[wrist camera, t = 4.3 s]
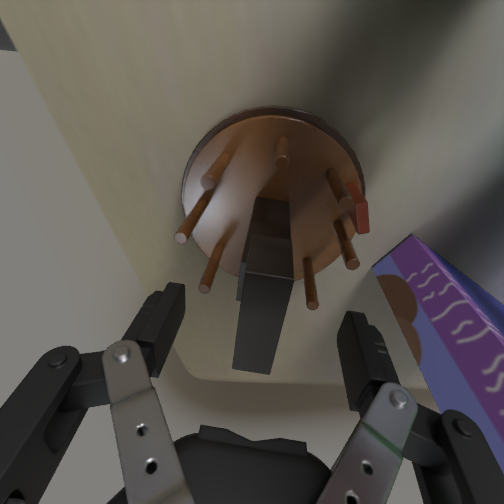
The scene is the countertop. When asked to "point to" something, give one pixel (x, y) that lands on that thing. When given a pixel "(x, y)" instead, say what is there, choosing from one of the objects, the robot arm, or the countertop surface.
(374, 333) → the robot arm
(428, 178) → the countertop surface
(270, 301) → the drying rack
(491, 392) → the cereal box
